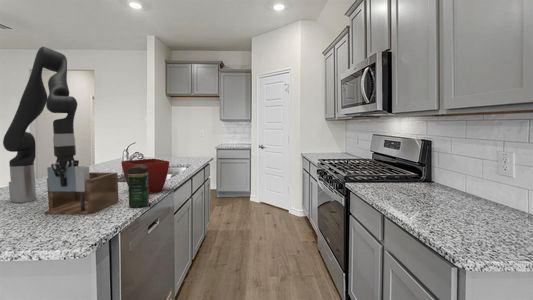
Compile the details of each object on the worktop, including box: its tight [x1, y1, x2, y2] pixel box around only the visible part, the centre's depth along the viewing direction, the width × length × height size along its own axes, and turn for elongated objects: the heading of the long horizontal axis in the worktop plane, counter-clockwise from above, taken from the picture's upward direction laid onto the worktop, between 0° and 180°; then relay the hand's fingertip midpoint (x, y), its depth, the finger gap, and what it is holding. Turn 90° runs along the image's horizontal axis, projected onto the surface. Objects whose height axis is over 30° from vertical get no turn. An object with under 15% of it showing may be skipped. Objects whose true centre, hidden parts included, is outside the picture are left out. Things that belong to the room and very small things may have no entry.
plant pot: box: [121, 158, 170, 194], centre depth 168 cm, size 19×19×17 cm
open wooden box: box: [43, 171, 119, 215], centre depth 136 cm, size 22×21×14 cm
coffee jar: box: [128, 165, 150, 209], centre depth 139 cm, size 10×8×19 cm
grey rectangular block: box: [46, 165, 90, 192], centre depth 128 cm, size 16×4×10 cm, turn 87°
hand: (67, 185), depth 128 cm, fingers closed on grey rectangular block, 3 cm apart
